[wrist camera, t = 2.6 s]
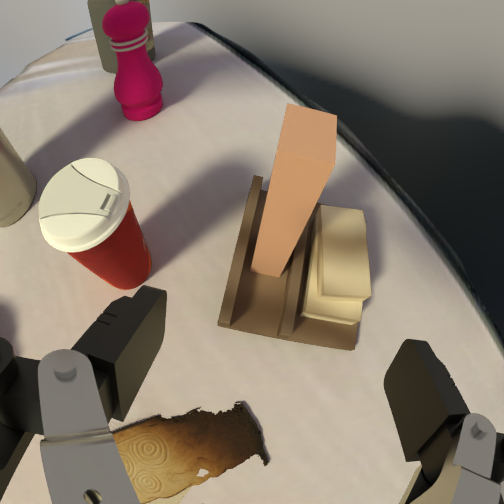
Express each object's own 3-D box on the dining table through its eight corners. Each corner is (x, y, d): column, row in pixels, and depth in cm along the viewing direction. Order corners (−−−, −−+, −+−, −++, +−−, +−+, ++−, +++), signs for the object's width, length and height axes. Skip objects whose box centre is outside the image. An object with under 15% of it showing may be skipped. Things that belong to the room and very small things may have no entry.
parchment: (82, 526, 19) (79, 529, 18) (38, 455, 22) (34, 457, 21) (277, 459, 25) (279, 461, 25) (229, 380, 28) (230, 380, 27)
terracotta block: (279, 277, 31) (335, 164, 15) (250, 271, 31) (277, 150, 15) (285, 242, 33) (336, 115, 16) (257, 236, 33) (287, 103, 16)
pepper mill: (127, 95, 42) (105, -10, 24) (169, 93, 43) (158, -19, 25) (115, 125, 40) (82, 9, 21) (160, 122, 40) (141, -2, 22)
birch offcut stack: (351, 324, 30) (370, 315, 26) (296, 315, 30) (308, 304, 26) (358, 231, 34) (374, 211, 30) (310, 219, 34) (321, 197, 30)
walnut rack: (350, 350, 30) (364, 346, 27) (217, 325, 30) (216, 319, 27) (361, 218, 36) (372, 204, 33) (249, 192, 36) (252, 174, 33)
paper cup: (170, 242, 33) (142, 159, 20) (148, 308, 30) (96, 257, 17) (110, 226, 33) (62, 147, 20) (85, 287, 30) (15, 230, 17)
